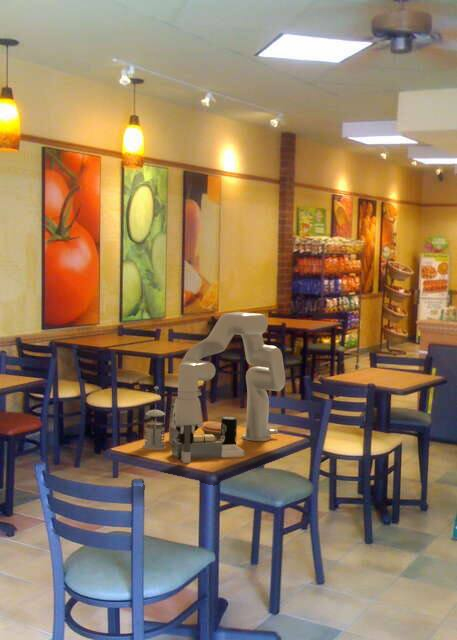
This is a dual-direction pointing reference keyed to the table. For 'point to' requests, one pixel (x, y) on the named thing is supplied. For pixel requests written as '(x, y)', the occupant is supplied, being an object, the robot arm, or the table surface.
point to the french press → (154, 431)
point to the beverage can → (228, 430)
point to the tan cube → (198, 439)
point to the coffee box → (172, 432)
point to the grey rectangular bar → (186, 445)
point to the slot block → (198, 449)
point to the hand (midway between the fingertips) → (186, 442)
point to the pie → (212, 429)
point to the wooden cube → (209, 438)
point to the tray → (232, 451)
